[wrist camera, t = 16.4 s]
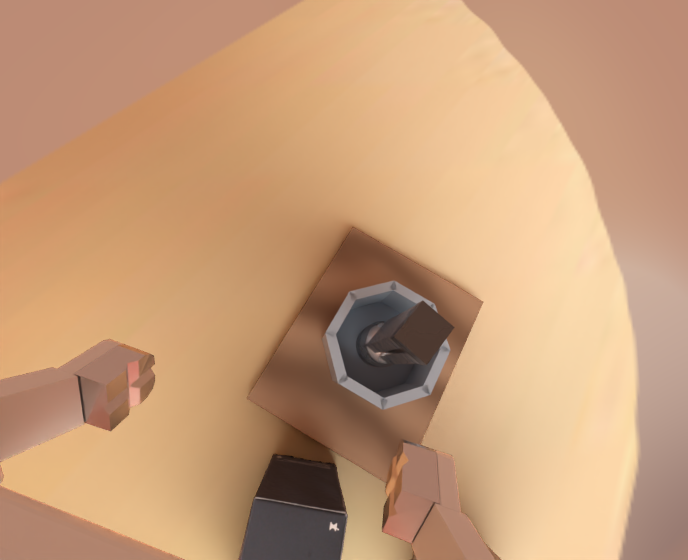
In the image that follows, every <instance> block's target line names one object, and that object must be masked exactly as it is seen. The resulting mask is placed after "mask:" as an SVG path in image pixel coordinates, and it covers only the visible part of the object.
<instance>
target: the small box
mask: <svg viewBox="0 0 688 560" xmlns="http://www.w3.org/2000/svg"><path fill="white" fill-rule="evenodd" d="M347 517H348V515H347V512H346V507H345V502H344V498H343V495H342V490H341V488H340V483H339V479H338V473H337V467H336V465H335V464H332V463H322V462H316V461H311V460H304V459H302V458H301V459H299V458H294V457H293V456H286V455H273V456H272V459H271V461H270V463H269V465H268V468H267V470H266V472H265V475H264V477H263V479H262V482H261V484H260V486H259V488H258V491H257V493H256V496H255V497H254V500H253V503H252V507H251V511H250V515H249V519H248V523H247V527H246V532H245V536H244V540H243V544H242V548H241V552H240V556H239V560H341V556H342V550H343V543H344V537H345V530H346V524H347Z"/></svg>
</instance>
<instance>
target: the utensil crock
mask: <svg viewBox="0 0 688 560" xmlns="http://www.w3.org/2000/svg"><path fill="white" fill-rule="evenodd" d="M421 301H424V302H425V303H427V304H428V305H429V306H430V307H431V308H432V309H434V310H435V311H436V312H437V309H436V306H435V304H434V303H432V302H430V301H429V300H427V299H425V298H424V297H422V296H420V295H418V294H417V293H415V292H413V291H411V290H410V289H408V288H406V287H405V286H403V285H401V284H399V283H398V282H396V281H390V282H386V283H382V284H378V285H373V286H369V287H365V288H361V289H357V290H353V291H349V293H348V295H347V297H346V298H345V300H344V302H343V303H342V305H341V307H340V309H339V310H338V312H337V314H336V315H335V317H334V319H333V321H332V322H331V324H330V326H329V327H328V329H327V331H326V333H325V334H324V336H323V338H322V342H323V346H324V350H325V354H326V358H327V362H328V366H329V370H330V373H331V377H332V381H334V382H336V383H338V384H339V385H341V386H343V387H344V388H346V389H348V390H349V391H351V392H353V393H354V394H356V395H358V396H359V397H361V398H363V399H364V400H366V401H368V402H369V403H371V404H373V405H375V406H377V407H378V408H380V409H382V410H384V409H387V408H390V407H394V406H397V405H400V404H403V403H406V402H409V401H413V400H416V399H419V398H422V397H425V396H429V395H430V394H431V392H432V390H433V388H434V386H435V383H436V381H437V379H438V377H439V375H440V372H441V370H442V368H443V366H444V364H445V361H446V359H447V357H448V355H449V353H450V347H449V344H448V341H447V339H446V340H445V341H444V343H443V344H442V345H441V347H440V348H439V349H438V351H437V352H436V353H435V355H434V356H433V357H432V359H431V360H430V361H429V363H428V364H427V365H420V364H394V365H392V366H389V367H372V366H369V365H367V364H366V363H364V362H363V361H362V360H361V358H360V357H359V355H358V353H357V349H356V341H357V338H358V335H359V334H360V332H361V331H362V330H363V329H364V328H366V327H367V326H369V325H370V324H372V323H375V322H379V321H384V322H386V321H387V320H389V319H391V318H393V317H395V316H397V315H398V314H400V313H402V312H404V311H406V310H408V309H409V308H411V307H413V306H415V305H416V304H417V303H419V302H421ZM437 313H438V312H437Z"/></svg>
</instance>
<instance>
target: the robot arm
mask: <svg viewBox="0 0 688 560" xmlns="http://www.w3.org/2000/svg"><path fill="white" fill-rule="evenodd" d="M154 364H155V361H154V356H153V355H151V354H149V353H147V352H144V351H141V350H139V349H136V348H133V347H131V346H128V345H125V344H122V343H119V342H116V341H114V340H111V339H108V340H103V341H102V342H100V343H98V344H97V345H95V346H93V347H92V348H90V349H89V350H87V351H85V352H84V353H82V354H81V355H79V356H77V357H76V358H74V359H72V360H71V361H69V362H68V363H66V364H64V365H63V366H61V367H59V368H58V369H56V368H53V367H52V368H48V369H44V370H40V371H35V372H31V373H27V374H23V375H19V376H15V377H10V378H6V379H2V380H0V462H2V461H4V460H6V459H8V458H11V457H13V456H15V455H17V454H20V453H22V452H24V451H26V450H28V449H31V448H33V447H35V446H37V445H40V444H42V443H44V442H46V441H48V440H51V439H53V438H55V437H57V436H60V435H62V434H64V433H66V432H68V431H71V430H73V429H75V428H77V427H80V426H82V425H84V423H87V424H90V425H93V426H96V427H99V428H102V429H105V430H108V431H112V430H113V429H114V428H115V427H116V426H117V425H118V424H119V423H120V422H121V421H122V420H124V419H125V418H126V417H127V416H128V415H129V411H130V407H133V406H136V405H139V404H141V403H142V402H143V401H144V400H145V399H146V398H147V397H148V395H149V394H150V392H151V390H152V389H153V386H154V382H155V374H154V373H153V371H152V370H151V367H152V366H153V365H154ZM3 478H4V475H3V472H2V468H1V465H0V483H1V482H2V481H3ZM385 492H386V494H387V496H388V499H387V501H386V503H385V506H384V512H383V524H382V532H384V533H387V534H389V535H391V536H394V537H396V538H399V539H401V540H404V541H406V542H409V543H411V544H412V545H411V546H412V548H413V551H414V554H415V556H416V559H417V560H495V559H494V557H493V556H492V554H491V553H490V551H489V549H488V548H487V546H486V545H485V543H484V541H483V540H482V538H481V537H480V535H479V534H478V532H477V530H476V529H475V527H474V526H473V524H472V523H471V521H470V519H469V518H468V516H467V515H466V514H464V513H461V509H460V501H459V493H458V485H457V478H456V470H455V462H454V458H453V456H452V455H449V454H446V453H443V452H440V451H437V450H434V449H431V448H428V447H425V446H422V445H419V444H416V443H412V442H409V441H406V440H403V439H402V440H401V441H400V443H399V445H398V447H397V456H395V457H393V459H392V461H391V464H390V467H389V471H388V474H387V480H386V489H385ZM0 560H185V559H182V558H180V557H177V556H175V555H172V554H170V553H167V552H165V551H162V550H160V549H157V548H155V547H152V546H150V545H147V544H145V543H142V542H140V541H137V540H135V539H132V538H130V537H127V536H125V535H122V534H120V533H117V532H115V531H112V530H110V529H107V528H105V527H102V526H100V525H97V524H95V523H92V522H90V521H87V520H85V519H82V518H80V517H77V516H75V515H72V514H70V513H67V512H65V511H62V510H60V509H57V508H55V507H52V506H50V505H47V504H45V503H42V502H40V501H37V500H35V499H32V498H30V497H27V496H25V495H22V494H20V493H17V492H15V491H12V490H10V489H7V488H5V487H2V486H0Z"/></svg>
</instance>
